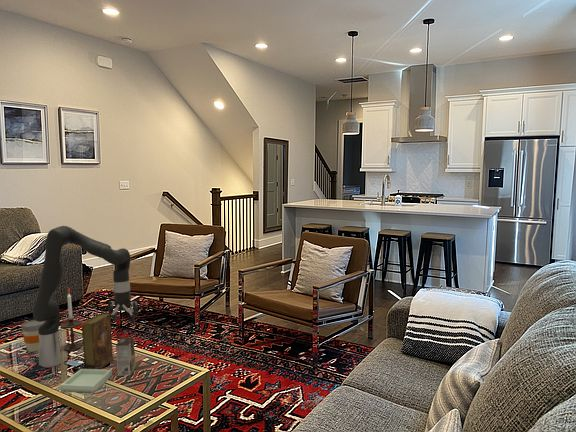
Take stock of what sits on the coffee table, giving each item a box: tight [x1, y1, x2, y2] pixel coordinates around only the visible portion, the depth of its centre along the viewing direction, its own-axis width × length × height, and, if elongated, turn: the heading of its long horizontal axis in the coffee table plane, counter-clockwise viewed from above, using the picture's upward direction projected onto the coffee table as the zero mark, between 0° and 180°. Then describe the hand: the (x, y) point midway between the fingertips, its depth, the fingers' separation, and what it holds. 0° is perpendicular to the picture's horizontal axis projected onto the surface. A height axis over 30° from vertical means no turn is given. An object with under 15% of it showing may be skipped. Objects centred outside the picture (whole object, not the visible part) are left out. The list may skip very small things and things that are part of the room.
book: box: [81, 312, 114, 370], centre depth 220 cm, size 16×6×25 cm, turn 168°
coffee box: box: [115, 336, 137, 377], centre depth 213 cm, size 9×6×16 cm
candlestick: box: [59, 287, 83, 352], centre depth 242 cm, size 11×11×35 cm
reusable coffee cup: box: [21, 319, 46, 353], centre depth 244 cm, size 13×13×15 cm
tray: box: [59, 368, 113, 394], centre depth 203 cm, size 16×16×3 cm
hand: (124, 322), depth 212 cm, fingers open, 8 cm apart
